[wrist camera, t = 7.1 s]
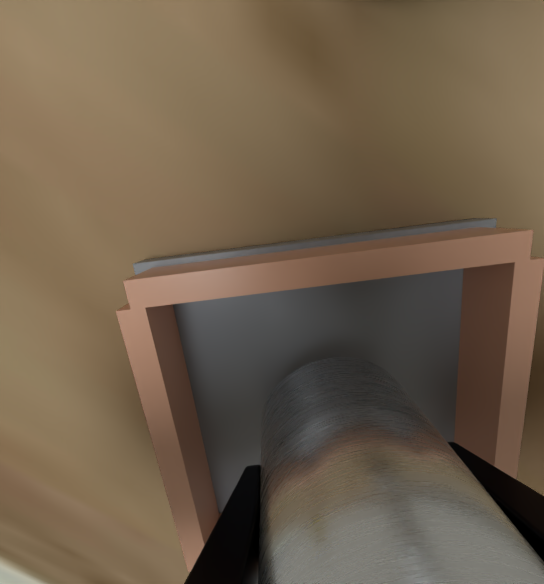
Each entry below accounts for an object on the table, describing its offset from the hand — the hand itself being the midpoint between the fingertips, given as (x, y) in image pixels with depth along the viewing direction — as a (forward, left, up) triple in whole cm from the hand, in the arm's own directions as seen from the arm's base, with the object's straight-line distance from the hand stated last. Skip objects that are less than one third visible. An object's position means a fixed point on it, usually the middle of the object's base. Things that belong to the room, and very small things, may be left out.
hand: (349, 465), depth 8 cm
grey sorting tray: (-6, 0, -4) cm, 7 cm away
